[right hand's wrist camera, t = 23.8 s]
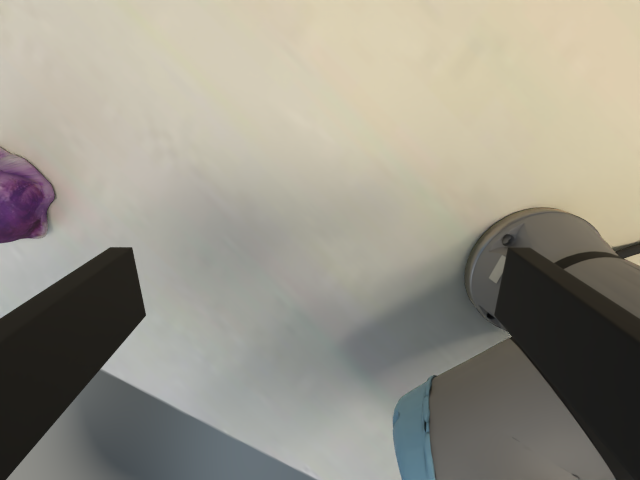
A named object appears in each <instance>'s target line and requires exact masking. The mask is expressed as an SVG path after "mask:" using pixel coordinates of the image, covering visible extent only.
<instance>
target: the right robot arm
mask: <svg viewBox="0 0 640 480" xmlns="http://www.w3.org/2000/svg"><path fill="white" fill-rule="evenodd" d="M639 253H640V244H637V245H634V246H631V247H628V248H625V249H622V250H619V251H616V252H615V251H614V250H613V249H612V248H611V247H610V246H609V245H608V244H607V243H606V242H605V240H604V239H603V238H602V237H601V235H600V234H599V232H598V231H597V230H596V229H595V228H594V227H593V226H592V225H591V224H590V223H588V222H587V221H586V220H584V219H582V218H580V217H578V216H575V215H573V214H570V213H568V212H565V211H563V210H559V209H554V208H532V209H527V210H523V211H520V212H517V213H514V214H512V215H509V216H507V217H506V218H504V219H502V220H500V221H499V222H497V223H496V224H495V225H493V226H492V227H491V228H490V229H488V230H487V231H486V232H485V233H484V234H483V235H482V236H481V238H480V239H479V240H478V241H477V243H476V244H475V246H474V247H473V249H472V251H471V253H470V255H469V258H468V261H467V264H466V268H465V287H466V291H467V294H468V296H469V298H470V300H471V302H472V303H473V305H474V306H475V307H476V308H477V310H478V311H479V312H480V313H481V315H482V316H483V317H484V318H485V319H486V320H488V321H489V322H490V323H492V324H494V325H495V326H498V327H500V328H502V329H504V330H506V331H508V332H509V334H510V335H511V336H512V337H511V338H508V339H506V340H504V341H502V342H501V343H499V344H497V345H495V346H493V347H491V348H489V349H488V350H486V351H484V352H482V353H480V354H478V355H477V356H475V357H473V358H471V359H469V360H467V361H465V362H464V363H462V364H460V365H458V366H456V367H454V368H452V369H450V370H448V371H446V372H444V373H442V374H440V375H438V376H436V375H433V376H431V377H429V378H428V380H427V382H425V383H423V384H422V385H420V386H418V387H417V388H415V389H413V390H412V391H410V392H409V393H407V394H405V395H404V396H403V397H402V398H401V399H400V400H399V401H398V403H397V405H396V407H395V410H394V415H393V439H394V446H395V452H396V457H397V462H398V466H399V470H400V474H401V478H402V480H640V266H638V265H636V264H634V263H632V262H630V261H628V260H625V259H624V258H627V257H630V256H633V255H636V254H639ZM145 316H146V313H145V308H144V303H143V298H142V294H141V289H140V284H139V279H138V274H137V269H136V264H135V259H134V254H133V250H132V247H110V248H109V249H107V250H105V251H104V252H102V253H101V254H99V255H98V256H96V257H95V258H93V259H92V260H90V261H88V262H87V263H85V264H84V265H82V266H81V267H79V268H78V269H76V270H75V271H73V272H71V273H70V274H68V275H67V276H65V277H64V278H62V279H61V280H59V281H58V282H56V283H55V284H53V285H51V286H50V287H48V288H47V289H45V290H44V291H42V292H41V293H39V294H38V295H36V296H34V297H33V298H31V299H30V300H28V301H27V302H25V303H24V304H22V305H21V306H19V307H18V308H16V309H14V310H13V311H11V312H10V313H8V314H7V315H5V316H4V317H2V318H1V319H0V480H6V479H7V478H8V477H9V475H10V474H11V473H12V472H13V471H14V470H15V468H16V467H17V466H18V465H19V464H20V462H21V461H22V460H23V459H24V458H25V457H26V455H27V454H28V453H29V452H30V451H31V450H32V448H33V447H34V446H35V445H36V444H37V443H38V441H39V440H40V439H41V438H42V437H43V436H44V434H45V433H46V432H47V431H48V430H49V428H50V427H51V426H52V425H53V424H54V423H55V421H56V420H57V419H58V418H59V417H60V416H61V414H62V413H63V412H64V411H65V410H66V408H67V407H68V406H69V405H70V404H71V403H72V402H73V400H74V399H75V398H76V397H77V396H78V394H79V393H80V392H81V391H82V390H83V389H84V387H85V386H86V385H87V384H88V383H89V382H90V380H91V379H92V378H93V377H94V376H95V375H96V373H97V372H98V371H99V370H100V369H101V368H102V366H103V365H104V364H105V363H106V362H107V361H108V359H109V358H110V357H111V356H112V355H113V353H114V352H115V351H116V350H117V349H118V348H119V346H120V345H121V344H122V343H123V342H124V341H125V339H126V338H127V337H128V336H129V335H130V334H131V332H132V331H133V330H134V329H135V328H136V327H137V325H138V324H139V323H140V322H141V321H142V319H143V318H144V317H145Z"/></svg>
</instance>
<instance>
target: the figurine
mask: <svg viewBox="0 0 640 480" xmlns="http://www.w3.org/2000/svg"><path fill="white" fill-rule="evenodd" d="M54 196H55V194H54V191H53V187H52V185H51V183H50V182H49V181H48V180H47V179H46V178H45V177H44V176H43V175H42V174H41V173H40V172H39V171H38V170H37V169H36V168H35V167H34V166H33V165H31V164H30V163H29V162H27V161H26V160H25V159H24V158H21V157H19V156H16V155H14V154H10V153H9V152H7V151H5V150H4V149H2V148H1V147H0V243H6V242H12V241H15V240H18V239H24V238H35V239H39V238H43V237H44V236H45V235H46V233H47V230H48V222H47V210H48V207H49V206H50V203H51V202H52V201H53V200H54Z"/></svg>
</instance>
